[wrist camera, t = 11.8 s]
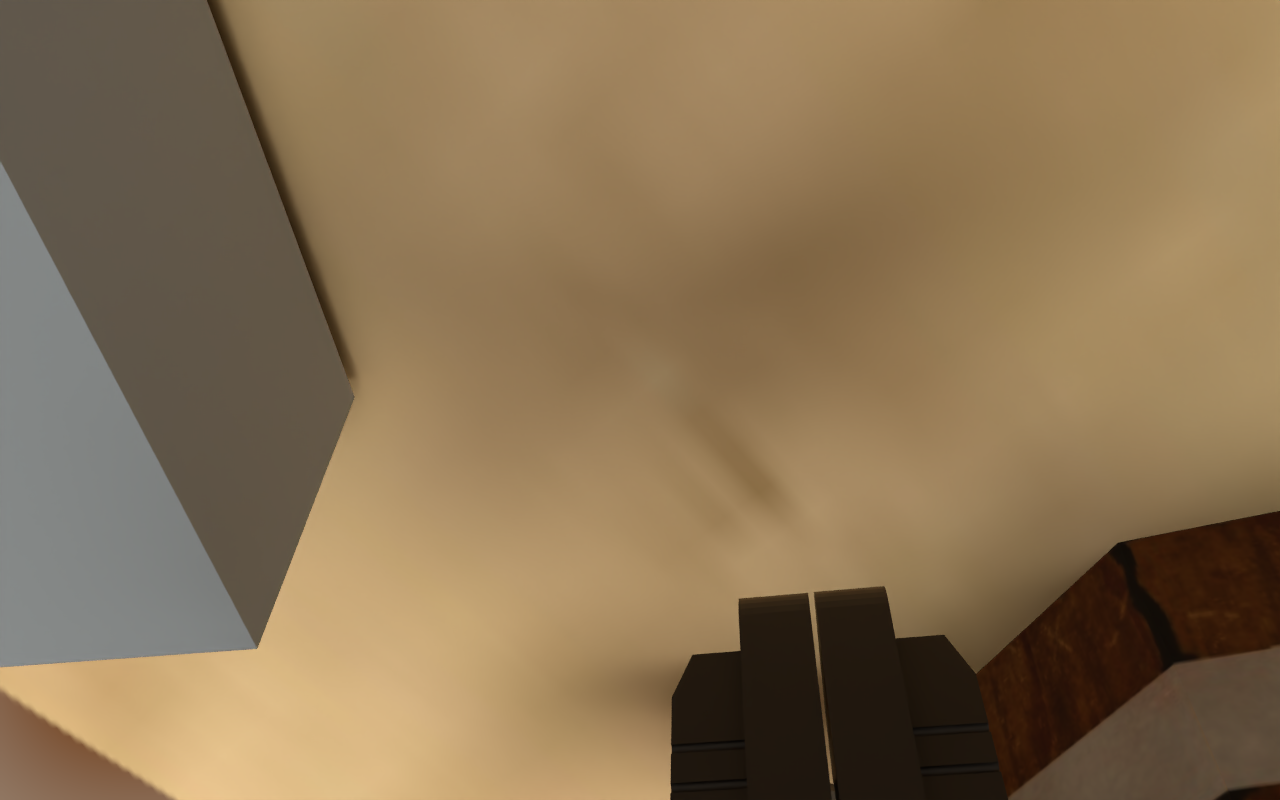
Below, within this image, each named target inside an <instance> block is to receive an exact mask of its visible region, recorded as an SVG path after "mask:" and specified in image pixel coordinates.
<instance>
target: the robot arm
mask: <svg viewBox="0 0 1280 800" xmlns="http://www.w3.org/2000/svg"><path fill="white" fill-rule="evenodd" d="M814 599H815V610H816V621H817V632H818V642H819V653H820V664H821V674H822V685H823V695H824V705H825V714H826V723H827V732H828V741H829V750H830V758H831V766H832V775H833V783H834V792H835V800H1008V796H1007V793H1006V789H1005V785H1004V781H1003V777H1002V773H1001V772H1000V770H999V762H998V758H997V754H996V750H995V746H994V742H993V738H992V734H991V732H990V731H989V725H988V719H987V715H986V711H985V707H984V703H983V700H982V696H981V692H980V688H979V684H978V680H977V676H976V674H975V673H974V671H973V670H972V669H971V668H970V666H969V665H968V664H967V663H966V662H965V660H964V659H963V658H962V657H961V655H960V654H959V653H958V652H957V650H956V649H955V648H954V647H953V645H952V644H951V643H950V642H949V640H948V639H947V638H946V637H945V635H936V636H923V637H910V638H897V639H895V634H894V629H893V623H892V618H891V613H890V608H889V603H888V598H887V593H886V590H885V587H884V586H882V587H870V588H858V589H846V590H834V591H822V592H814ZM739 628H740V649H741V651H735V652H723V653H710V654H697V655H692V657H691V659H690V661H689V663H688V666H687V668H686V670H685V672H684V674H683V676H682V678H681V680H680V682H679V684H678V686H677V688H676V690H675V692H674V694H673V696H672V728H671V746H672V754H671V797H670V800H832V797H831V788H830V780H829V771H828V762H827V754H826V745H825V736H824V728H823V719H822V711H821V702H820V693H819V685H818V676H817V667H816V659H815V650H814V641H813V633H812V624H811V615H810V607H809V598H808V593H802V594H790V595H778V596H766V597H754V598H742V599H739Z"/></svg>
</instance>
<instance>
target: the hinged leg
mask: <svg viewBox="0 0 1280 800" xmlns="http://www.w3.org/2000/svg"><path fill="white" fill-rule="evenodd" d="M353 400H354V394H353V391H352V389H351V386H350V383H349V381H348V378H347V375H346V373H345V370H344V367H343V365H342V362H341V359H340V356H339V354H338V351H337V348H336V346H335V343H334V340H333V338H332V335H331V332H330V330H329V327H328V324H327V322H326V319H325V316H324V314H323V311H322V308H321V305H320V303H319V300H318V297H317V295H316V292H315V289H314V287H313V284H312V281H311V279H310V276H309V273H308V271H307V268H306V265H305V263H304V260H303V257H302V254H301V252H300V249H299V246H298V244H297V241H296V238H295V236H294V233H293V230H292V228H291V225H290V222H289V220H288V217H287V214H286V212H285V209H284V206H283V203H282V201H281V198H280V195H279V193H278V190H277V187H276V185H275V182H274V179H273V177H272V174H271V171H270V169H269V166H268V163H267V161H266V158H265V155H264V152H263V150H262V147H261V144H260V142H259V139H258V136H257V134H256V131H255V128H254V126H253V123H252V120H251V118H250V115H249V112H248V110H247V107H246V104H245V101H244V99H243V96H242V93H241V91H240V88H239V85H238V83H237V80H236V77H235V75H234V72H233V69H232V67H231V64H230V61H229V59H228V56H227V53H226V50H225V48H224V45H223V42H222V40H221V37H220V34H219V32H218V29H217V26H216V24H215V21H214V18H213V16H212V13H211V10H210V8H209V5H208V2H207V0H0V667H10V666H24V665H38V664H52V663H66V662H80V661H94V660H107V659H121V658H135V657H149V656H163V655H177V654H191V653H205V652H218V651H232V650H246V649H257V648H258V645H259V643H260V640H261V638H262V635H263V632H264V630H265V627H266V625H267V622H268V619H269V617H270V614H271V612H272V609H273V607H274V604H275V601H276V599H277V596H278V594H279V591H280V588H281V586H282V583H283V581H284V578H285V576H286V573H287V570H288V568H289V565H290V563H291V560H292V557H293V555H294V552H295V550H296V547H297V545H298V542H299V539H300V537H301V534H302V532H303V529H304V526H305V524H306V521H307V519H308V516H309V513H310V511H311V508H312V506H313V503H314V501H315V498H316V495H317V493H318V490H319V488H320V485H321V482H322V480H323V477H324V475H325V472H326V470H327V467H328V464H329V462H330V459H331V457H332V454H333V451H334V449H335V446H336V444H337V441H338V439H339V436H340V433H341V431H342V428H343V426H344V423H345V420H346V418H347V415H348V413H349V410H350V408H351V405H352V402H353Z"/></svg>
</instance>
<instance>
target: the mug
mask: <svg viewBox="0 0 1280 800" xmlns="http://www.w3.org/2000/svg"><path fill="white" fill-rule="evenodd" d="M976 676H977V680H978V684H979V688H980V692H981V696H982V700H983V703H984V707H985V711H986V715H987V719H988V725H989V731H990V732H991V734H992V738H993V742H994V746H995V750H996V754H997V758H998V762H999V770H1000V772H1001V773H1002V777H1003V781H1004V785H1005V789H1006V793H1007V796H1008V800H1280V511H1277V512H1272V513H1267V514H1262V515H1257V516H1252V517H1247V518H1242V519H1237V520H1231V521H1226V522H1221V523H1216V524H1211V525H1206V526H1201V527H1196V528H1191V529H1186V530H1181V531H1175V532H1170V533H1165V534H1160V535H1155V536H1150V537H1145V538H1140V539H1135V540H1130V541H1125V542H1120V543H1117V544H1116V545H1115V546H1114V547H1113V548H1112V549H1111V550H1110V551H1109V552H1108V553H1107V554H1106V555H1104V556H1103V557H1102V558H1101V559H1100V560H1099V561H1098V562H1097V563H1096V564H1095V565H1094V566H1093V567H1091V568H1090V569H1089V570H1088V571H1087V572H1086V573H1085V574H1084V575H1083V576H1082V577H1081V578H1080V579H1079V580H1077V581H1076V582H1075V583H1074V584H1073V585H1072V586H1071V587H1070V588H1069V589H1068V590H1067V591H1066V592H1064V593H1063V594H1062V595H1061V596H1060V597H1059V598H1058V599H1057V600H1056V601H1055V602H1054V603H1053V604H1052V605H1050V606H1049V607H1048V608H1047V609H1046V610H1045V611H1044V612H1043V613H1042V614H1041V615H1040V616H1039V617H1037V618H1036V619H1035V620H1034V621H1033V622H1032V623H1031V624H1030V625H1029V626H1028V627H1027V628H1026V629H1024V630H1023V631H1022V632H1021V633H1020V634H1019V635H1018V636H1017V637H1016V638H1015V639H1014V640H1013V641H1012V642H1010V643H1009V644H1008V645H1007V646H1006V647H1005V648H1004V649H1003V650H1002V651H1001V652H1000V653H999V654H997V655H996V656H995V657H994V658H993V659H992V660H991V661H990V662H989V663H988V664H987V665H986V666H985V667H983V668H982V669H981V670H980V671H979V672H978V673H977V674H976ZM830 788H831V797H832V800H835V792H834V784H830Z"/></svg>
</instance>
